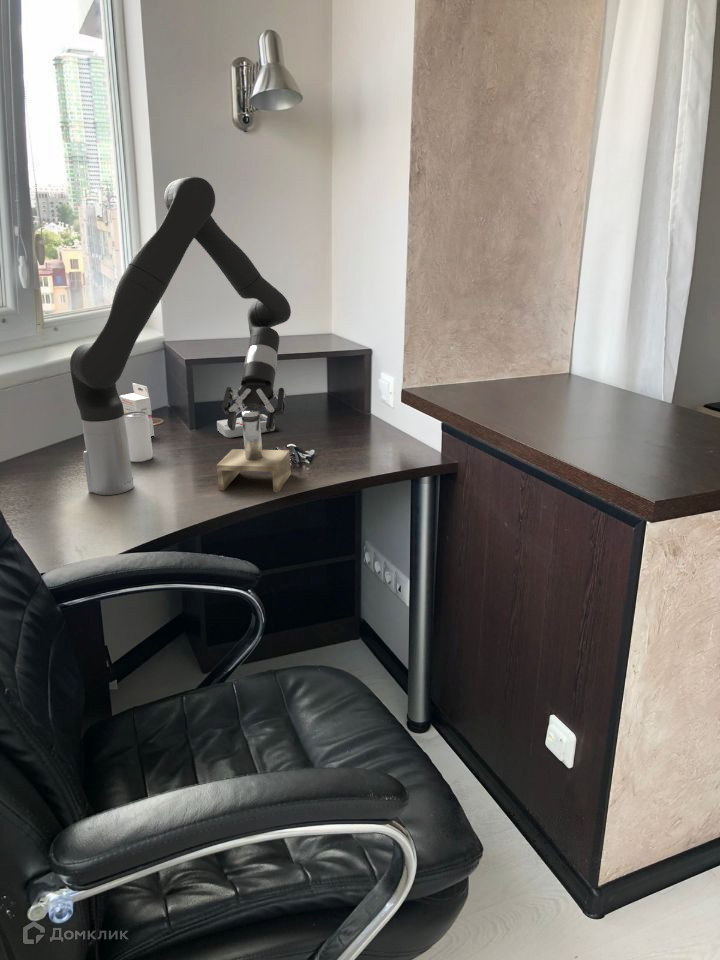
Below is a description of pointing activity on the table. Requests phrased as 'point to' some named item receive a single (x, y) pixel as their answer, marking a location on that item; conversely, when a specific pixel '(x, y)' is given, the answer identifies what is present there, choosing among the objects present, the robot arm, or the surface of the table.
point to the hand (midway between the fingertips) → (249, 429)
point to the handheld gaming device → (239, 427)
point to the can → (138, 436)
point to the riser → (254, 466)
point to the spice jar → (252, 434)
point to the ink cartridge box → (138, 403)
